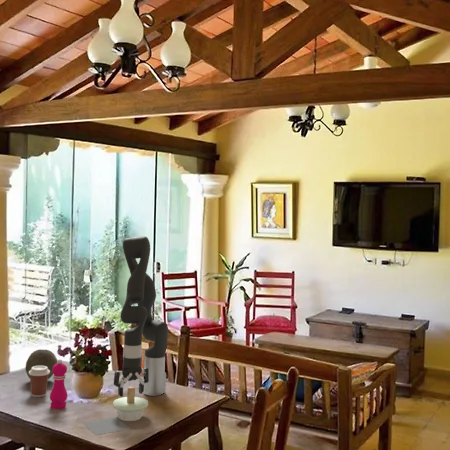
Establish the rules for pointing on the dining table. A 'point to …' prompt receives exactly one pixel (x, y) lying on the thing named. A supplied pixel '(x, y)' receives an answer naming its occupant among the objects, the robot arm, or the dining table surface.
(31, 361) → the cantaloupe
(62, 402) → the pepper mill
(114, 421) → the mat
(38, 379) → the coffee cup
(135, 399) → the lid
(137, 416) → the ramekin
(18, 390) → the dining table surface
